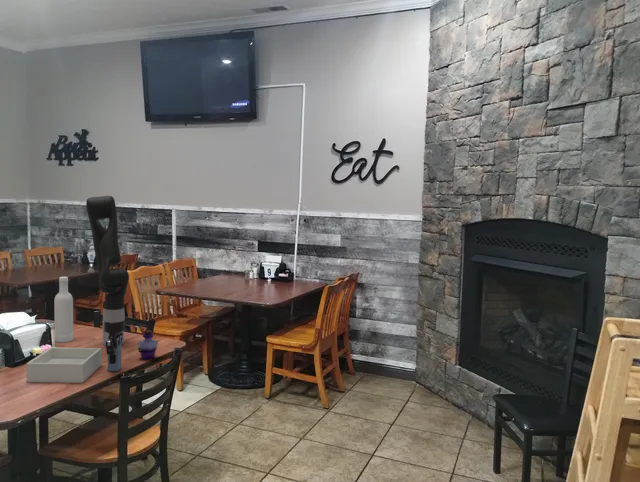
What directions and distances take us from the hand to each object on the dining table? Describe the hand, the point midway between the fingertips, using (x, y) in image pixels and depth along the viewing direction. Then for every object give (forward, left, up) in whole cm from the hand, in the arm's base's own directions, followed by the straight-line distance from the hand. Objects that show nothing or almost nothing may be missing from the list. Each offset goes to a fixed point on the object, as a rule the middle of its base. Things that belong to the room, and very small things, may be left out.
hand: (114, 361), depth 207 cm
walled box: (+4, -17, -4) cm, 18 cm away
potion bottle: (-16, +9, -4) cm, 19 cm away
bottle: (-40, -36, -4) cm, 54 cm away
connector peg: (0, 0, -3) cm, 3 cm away
